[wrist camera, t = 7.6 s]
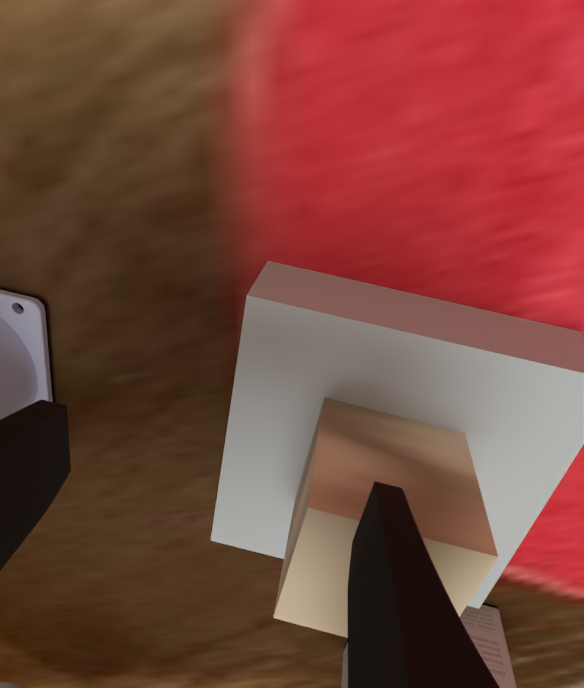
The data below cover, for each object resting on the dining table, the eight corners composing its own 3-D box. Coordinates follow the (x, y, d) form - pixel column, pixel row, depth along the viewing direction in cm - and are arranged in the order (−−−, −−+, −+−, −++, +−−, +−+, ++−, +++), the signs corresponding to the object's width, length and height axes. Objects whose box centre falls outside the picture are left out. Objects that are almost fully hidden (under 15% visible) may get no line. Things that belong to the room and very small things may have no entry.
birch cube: (295, 496, 19) (273, 617, 15) (324, 397, 17) (307, 507, 12) (417, 528, 19) (431, 659, 15) (465, 433, 17) (498, 557, 12)
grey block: (233, 476, 25) (210, 540, 21) (270, 256, 19) (246, 295, 15) (464, 533, 24) (479, 608, 21) (575, 325, 18) (622, 382, 15)
